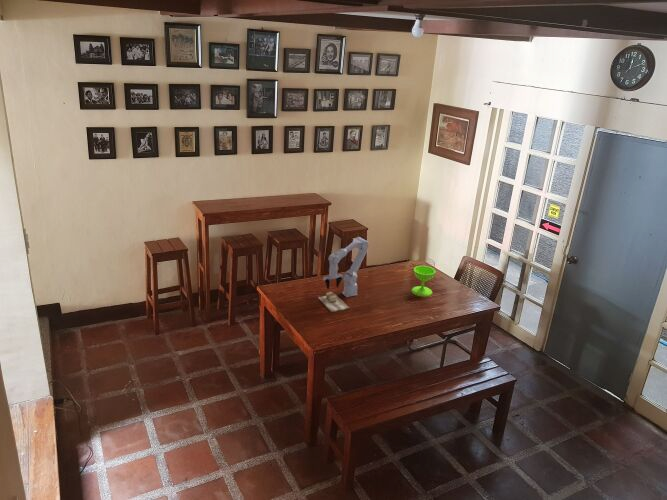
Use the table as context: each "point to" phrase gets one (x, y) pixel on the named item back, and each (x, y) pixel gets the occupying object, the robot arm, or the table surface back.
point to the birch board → (333, 304)
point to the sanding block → (331, 297)
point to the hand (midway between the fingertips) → (332, 287)
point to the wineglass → (423, 280)
